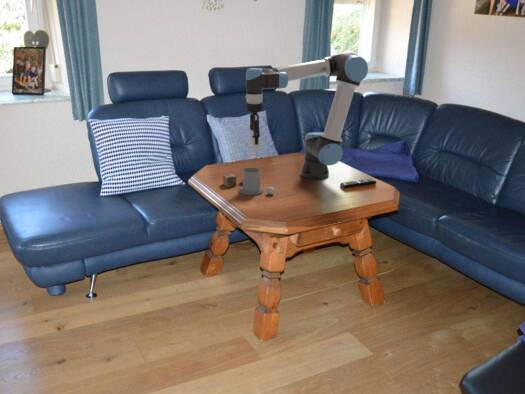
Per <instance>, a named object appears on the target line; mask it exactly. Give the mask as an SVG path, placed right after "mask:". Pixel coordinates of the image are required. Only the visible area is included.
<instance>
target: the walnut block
mask: <svg viewBox="0 0 525 394" xmlns="http://www.w3.org/2000/svg"><path fill="white" fill-rule="evenodd" d="M222 182H223V183H222V185H224V186H225V187H226V188H230V187H237V176H236V175H235V174H233V173H227V174H226V173H225V174H222Z"/></svg>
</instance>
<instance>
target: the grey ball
mask: <svg viewBox="0 0 525 394" xmlns="http://www.w3.org/2000/svg"><path fill="white" fill-rule="evenodd" d="M266 193H267V194H268V195H271V196H272V195H273V194H275V188H274V187H272V186H270V187H269V186H268V187H267V190H266Z"/></svg>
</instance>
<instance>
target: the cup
mask: <svg viewBox="0 0 525 394" xmlns="http://www.w3.org/2000/svg"><path fill="white" fill-rule="evenodd" d="M242 172H243V183H242V187H243V191H245V192H258V191H260V187H261V169H260V168H258V167H245V168H243V169H242Z"/></svg>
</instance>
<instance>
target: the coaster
mask: <svg viewBox="0 0 525 394" xmlns="http://www.w3.org/2000/svg"><path fill="white" fill-rule="evenodd" d="M238 193H240V194H241V195H244V196H258V195H262V194H263V193H264V188H263V187H261V186H260V191H258V192H245V191H243V186H241V187H239V188H238Z"/></svg>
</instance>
